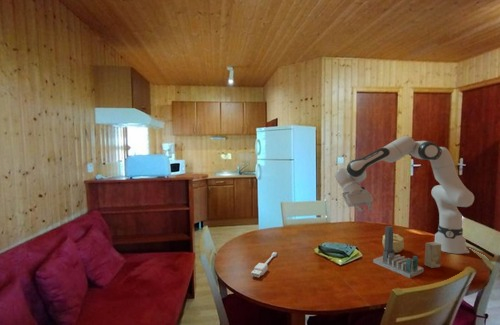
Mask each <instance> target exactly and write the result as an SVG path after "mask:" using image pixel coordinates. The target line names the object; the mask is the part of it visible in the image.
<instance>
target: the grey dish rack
mask: <svg viewBox="0 0 500 325" xmlns="http://www.w3.org/2000/svg"><path fill="white" fill-rule="evenodd" d="M372 262H373V264H376V265H378V266H379V267H380V266H381V267H383V268H386V269H388V270H390V271H392V272H393V273H397V274H399V275H402V276H404V277H406V278H409V279H411V278H413V277H415V276H419V275H420V274H423V273H424V271H425V269H424V267H422V266H419V257H418V256H416V255H413V256H412V259H411V258H410V257H407V258H406V256H405V255H403V256H401V254H396V255H395V250H394V249H393V253H391V254H388V252H387V251H385V249H384V250H382V256H378V257H376V258H373V261H372Z"/></svg>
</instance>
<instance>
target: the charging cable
mask: <svg viewBox="0 0 500 325" xmlns="http://www.w3.org/2000/svg"><path fill="white" fill-rule="evenodd" d="M277 256H278V252H276V251H273V252H272V253H271V256H270V257H269V258H268V259H267V260H266V261H265V262H264V263H263V262H258V264H256V265H255V266H254V267H253V270H252V271H251V272H250V273H251V274H250V276H251V277H256V278H260V277H261V276H263V275H264V274H265V273H266V272H267V271H268V267H269V266H268V263H269V262H270V261H271V260H272V259H273V258H274V257H277Z"/></svg>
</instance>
